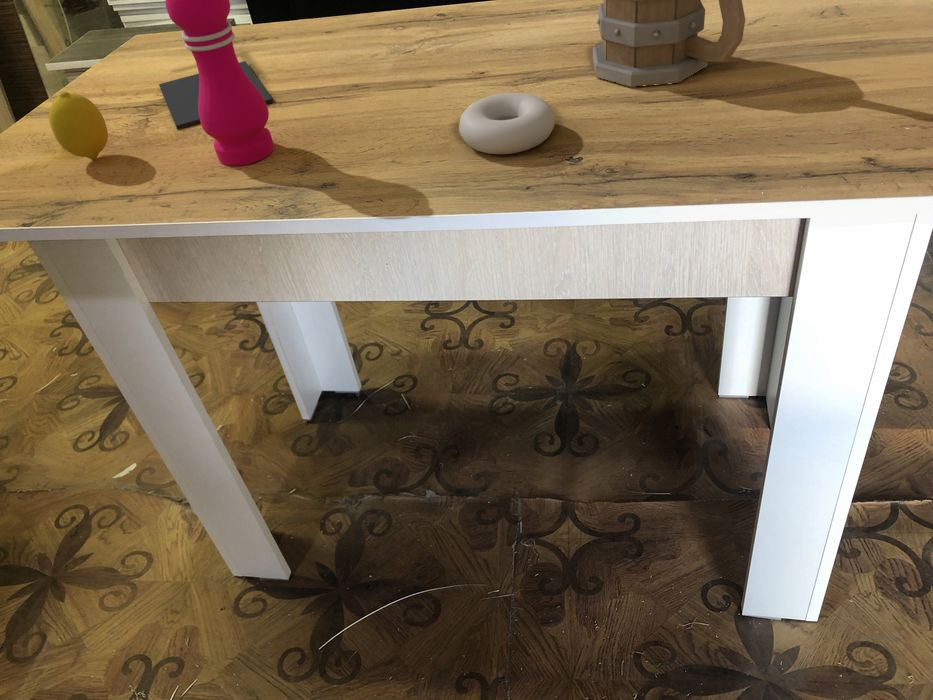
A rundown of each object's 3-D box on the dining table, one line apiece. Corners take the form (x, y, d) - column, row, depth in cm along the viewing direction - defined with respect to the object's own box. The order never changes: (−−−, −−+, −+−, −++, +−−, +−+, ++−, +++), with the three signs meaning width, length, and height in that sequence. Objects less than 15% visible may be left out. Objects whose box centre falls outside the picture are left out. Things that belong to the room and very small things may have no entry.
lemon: (122, 144, 92) (93, 78, 86) (114, 165, 87) (83, 97, 82) (75, 152, 91) (43, 87, 86) (64, 174, 87) (30, 106, 82)
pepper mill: (202, 156, 86) (131, -36, 73) (257, 132, 90) (199, -56, 77) (234, 175, 82) (165, -26, 69) (291, 148, 85) (235, -48, 72)
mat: (177, 129, 93) (175, 125, 93) (160, 87, 105) (158, 84, 104) (273, 102, 96) (272, 98, 96) (246, 64, 107) (245, 60, 107)
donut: (443, 154, 80) (530, 166, 76) (438, 123, 78) (527, 133, 74) (488, 113, 87) (571, 122, 82) (485, 83, 84) (569, 90, 80)
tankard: (571, 71, 92) (568, -67, 83) (639, 37, 98) (644, -96, 88) (715, 112, 80) (731, -44, 70) (783, 71, 86) (806, -79, 76)
